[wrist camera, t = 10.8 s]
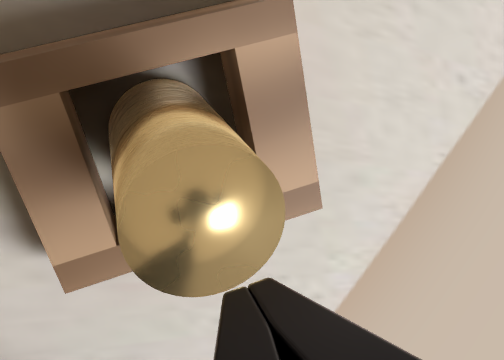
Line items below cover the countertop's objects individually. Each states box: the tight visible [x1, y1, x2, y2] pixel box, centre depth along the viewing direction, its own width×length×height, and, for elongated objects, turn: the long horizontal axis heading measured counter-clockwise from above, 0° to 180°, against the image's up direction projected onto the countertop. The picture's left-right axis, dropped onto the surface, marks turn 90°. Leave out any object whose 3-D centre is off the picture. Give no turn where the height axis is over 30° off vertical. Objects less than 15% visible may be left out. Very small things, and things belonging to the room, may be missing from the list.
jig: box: [0, 0, 322, 294], centre depth 17 cm, size 8×10×2 cm
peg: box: [108, 79, 285, 297], centre depth 15 cm, size 4×4×8 cm
